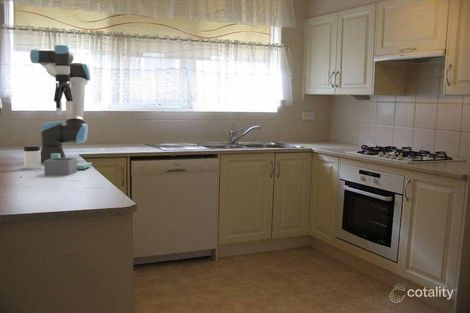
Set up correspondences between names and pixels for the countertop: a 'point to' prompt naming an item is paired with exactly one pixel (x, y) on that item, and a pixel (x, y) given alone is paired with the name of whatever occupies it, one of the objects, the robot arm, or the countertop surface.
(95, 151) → the countertop surface
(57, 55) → the robot arm
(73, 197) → the countertop surface
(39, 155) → the jar
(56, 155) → the teal t-shaped block
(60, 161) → the tub
